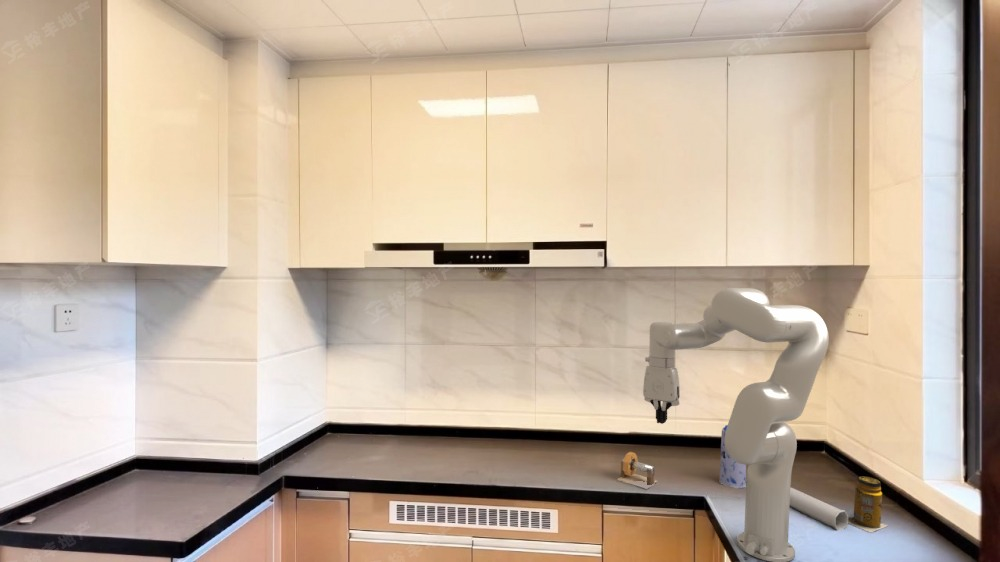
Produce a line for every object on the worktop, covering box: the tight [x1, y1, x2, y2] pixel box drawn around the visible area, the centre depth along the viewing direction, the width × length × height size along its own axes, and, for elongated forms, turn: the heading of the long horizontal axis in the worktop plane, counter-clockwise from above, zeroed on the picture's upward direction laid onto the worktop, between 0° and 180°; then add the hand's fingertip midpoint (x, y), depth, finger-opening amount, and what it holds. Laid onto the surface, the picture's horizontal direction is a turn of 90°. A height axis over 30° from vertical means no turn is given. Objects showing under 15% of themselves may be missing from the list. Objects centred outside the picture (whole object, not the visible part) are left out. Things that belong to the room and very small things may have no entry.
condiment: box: [848, 476, 889, 534], centre depth 142 cm, size 7×8×12 cm
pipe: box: [621, 457, 655, 474], centre depth 166 cm, size 3×10×3 cm, turn 50°
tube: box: [790, 487, 849, 531], centre depth 150 cm, size 5×5×25 cm
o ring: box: [623, 451, 639, 476], centre depth 168 cm, size 7×2×7 cm, turn 140°
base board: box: [616, 460, 658, 485], centre depth 166 cm, size 8×10×6 cm
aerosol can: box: [718, 424, 747, 489], centre depth 167 cm, size 8×8×20 cm
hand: (661, 422), depth 161 cm, fingers closed
